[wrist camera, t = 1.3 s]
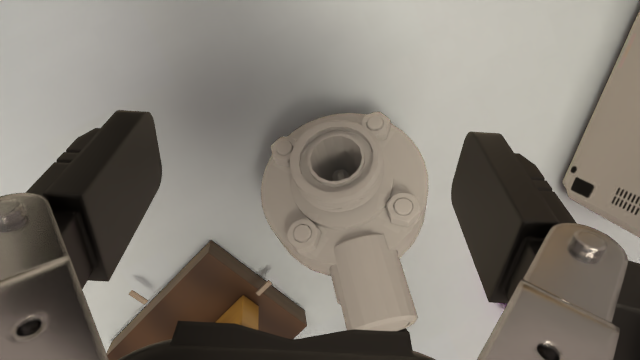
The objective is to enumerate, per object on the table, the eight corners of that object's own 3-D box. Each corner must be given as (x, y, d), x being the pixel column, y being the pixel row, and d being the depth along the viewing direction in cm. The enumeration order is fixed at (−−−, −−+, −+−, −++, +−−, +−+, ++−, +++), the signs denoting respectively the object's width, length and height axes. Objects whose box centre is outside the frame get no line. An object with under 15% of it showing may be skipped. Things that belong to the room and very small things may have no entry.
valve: (300, 226, 45) (333, 385, 37) (236, 110, 27) (274, 368, 20) (399, 199, 44) (452, 356, 37) (398, 65, 27) (498, 311, 20)
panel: (198, 212, 33) (194, 225, 31) (331, 315, 37) (335, 332, 35) (80, 336, 35) (69, 355, 33) (219, 418, 39) (217, 440, 37)
